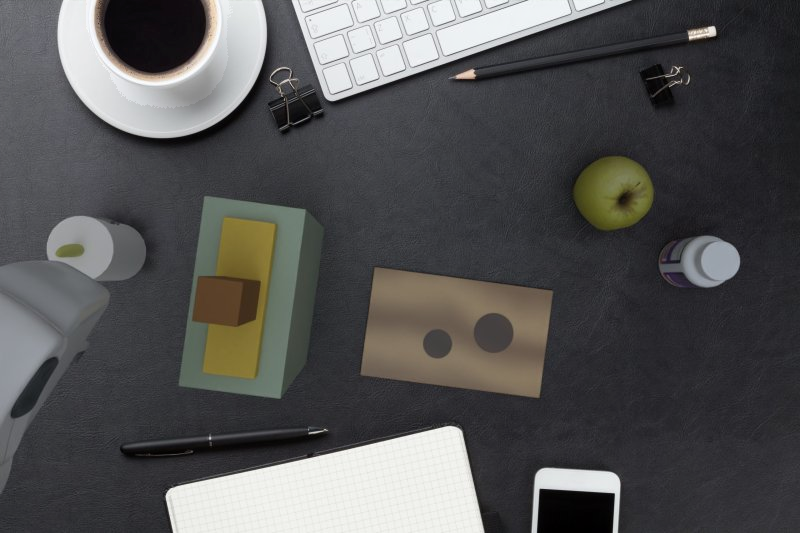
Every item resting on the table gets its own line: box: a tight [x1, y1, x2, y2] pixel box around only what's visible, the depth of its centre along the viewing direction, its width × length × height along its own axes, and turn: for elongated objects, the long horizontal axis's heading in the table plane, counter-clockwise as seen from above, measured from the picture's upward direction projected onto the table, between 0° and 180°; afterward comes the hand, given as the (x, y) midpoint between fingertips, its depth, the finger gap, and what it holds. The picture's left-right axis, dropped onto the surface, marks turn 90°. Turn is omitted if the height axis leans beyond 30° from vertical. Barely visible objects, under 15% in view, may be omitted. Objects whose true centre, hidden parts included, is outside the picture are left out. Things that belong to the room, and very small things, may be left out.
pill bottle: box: [658, 235, 741, 288], centre depth 80 cm, size 5×5×10 cm
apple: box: [572, 155, 655, 231], centre depth 80 cm, size 8×8×10 cm
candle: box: [46, 215, 147, 282], centre depth 75 cm, size 6×6×15 cm
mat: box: [359, 266, 554, 399], centre depth 84 cm, size 12×20×1 cm, turn 82°
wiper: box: [192, 217, 278, 379], centre depth 55 cm, size 12×4×10 cm, turn 172°
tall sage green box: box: [178, 195, 326, 400], centre depth 71 cm, size 15×8×24 cm, turn 172°
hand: (34, 406), depth 49 cm, fingers open, 8 cm apart
